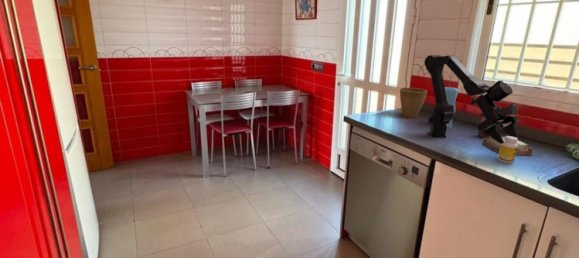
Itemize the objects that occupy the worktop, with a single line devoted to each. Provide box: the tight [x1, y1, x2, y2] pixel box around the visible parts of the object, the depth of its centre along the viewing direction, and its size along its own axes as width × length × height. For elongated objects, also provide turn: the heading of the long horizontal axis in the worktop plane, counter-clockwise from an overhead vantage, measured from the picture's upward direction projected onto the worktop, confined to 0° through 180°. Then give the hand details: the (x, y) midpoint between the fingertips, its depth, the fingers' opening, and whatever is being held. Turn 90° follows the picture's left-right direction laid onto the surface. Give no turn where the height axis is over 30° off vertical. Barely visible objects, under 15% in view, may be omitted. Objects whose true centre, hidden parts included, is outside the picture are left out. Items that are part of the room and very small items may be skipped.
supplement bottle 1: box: [477, 116, 490, 139], centre depth 154 cm, size 6×6×11 cm
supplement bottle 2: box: [497, 135, 519, 164], centre depth 125 cm, size 5×5×10 cm
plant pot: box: [399, 87, 428, 119], centre depth 186 cm, size 15×15×16 cm
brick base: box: [482, 136, 533, 156], centre depth 139 cm, size 13×13×4 cm
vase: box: [444, 86, 460, 129], centre depth 169 cm, size 8×8×20 cm
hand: (509, 141), depth 124 cm, fingers open, 9 cm apart
